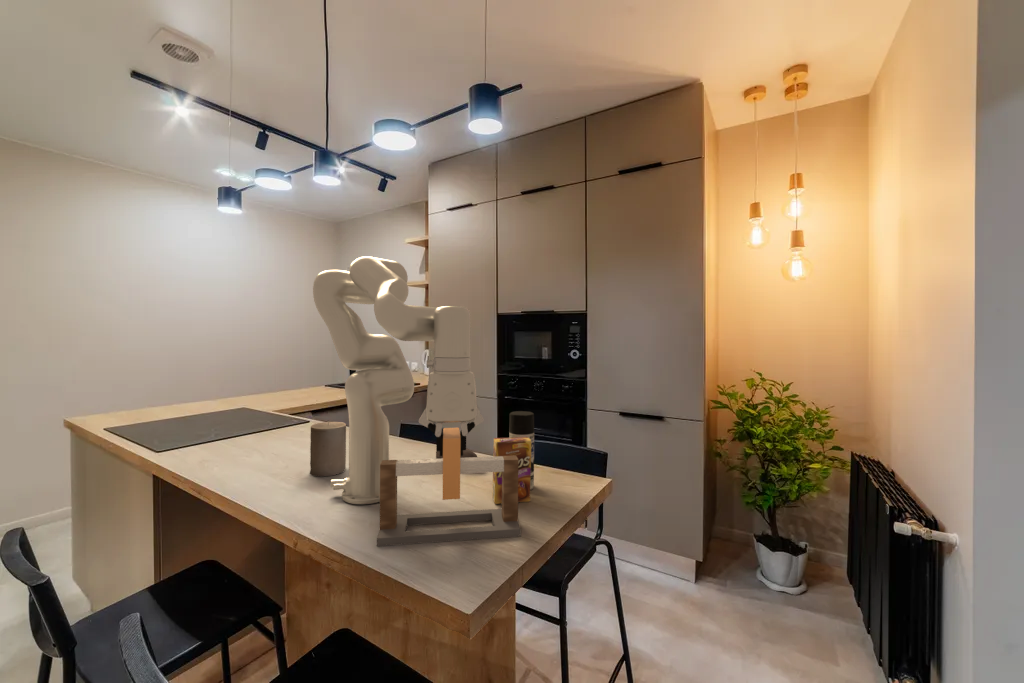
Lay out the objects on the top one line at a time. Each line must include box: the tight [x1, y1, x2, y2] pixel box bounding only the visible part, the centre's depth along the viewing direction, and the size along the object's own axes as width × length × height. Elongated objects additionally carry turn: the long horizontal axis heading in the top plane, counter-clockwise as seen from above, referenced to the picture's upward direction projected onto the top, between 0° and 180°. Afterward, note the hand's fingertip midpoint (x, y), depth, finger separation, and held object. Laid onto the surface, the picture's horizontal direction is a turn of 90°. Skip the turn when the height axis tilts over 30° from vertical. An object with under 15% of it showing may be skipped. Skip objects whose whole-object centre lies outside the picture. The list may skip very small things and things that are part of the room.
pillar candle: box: [309, 420, 347, 478], centre depth 119 cm, size 10×10×15 cm
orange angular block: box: [442, 427, 461, 501], centre depth 84 cm, size 10×3×12 cm, turn 9°
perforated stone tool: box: [435, 447, 478, 459], centre depth 124 cm, size 15×5×7 cm, turn 59°
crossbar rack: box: [376, 455, 522, 547], centre depth 85 cm, size 28×10×14 cm, turn 99°
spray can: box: [508, 410, 535, 491], centre depth 108 cm, size 7×7×20 cm
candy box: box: [491, 437, 531, 505], centre depth 100 cm, size 9×4×15 cm, turn 103°
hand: (451, 453), depth 84 cm, fingers closed on orange angular block, 3 cm apart
